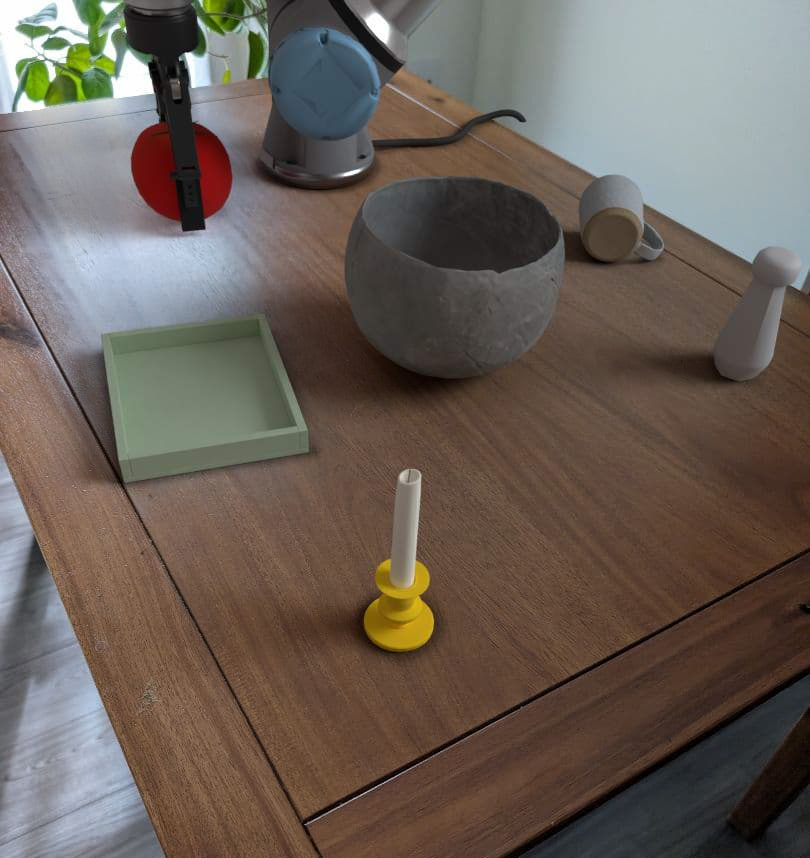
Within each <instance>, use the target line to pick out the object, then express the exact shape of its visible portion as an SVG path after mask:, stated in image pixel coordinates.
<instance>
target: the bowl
mask: <svg viewBox="0 0 810 858" xmlns="http://www.w3.org/2000/svg"><path fill="white" fill-rule="evenodd" d="M565 260H566V247H565V239H564V233H563V229H562V226H561V225H560V222H559V220H558V218H557V217H556V215H555V214H553V212H552V210H551V209H549V207H548V206H547V204H545V203H544V202H543V201H542V200H540V199H539V198H537V197H536V196H535V195H533V194H532V193H531V192H528V191H526V190H524V189H522V188H519V187H516V186H514V185H511V184H508V183H506V182H502V181H500V180H495V179H492V178H486V177H481V176H470V175H469V176H468V175H467V176H464V175H463V176H462V175H446V176H445V175H444V176H440V175H439V176H417V177H416V176H415V177H408V178H407V177H406V178H403V179H399V180H394V181H390V182H388V183H386V184H384V185H382V186H379V187H377V188H376V189H374V190H372V191H370V193H368V195H367V196H366V197H365V198H364V200H363V202H362V203H361V205H360V207H359V208H358V210H357V211H356V215H355V216H354V219H353V222H352V224H351V227H350V230H349V233H348V237H347V243H346V247H345V254H344V283H345V289H346V290H345V291H346V296H347V299H348V302H349V306H350V309H351V312H352V315H353V318H354V321H355V322H356V324H357V326H358V329H359V331H360V332H361V334H362V335H363V336H364V338H365V339H366V340H367V341H368V342H369V343H370V344H371V346H373V347H374V349H376V350H377V351H378V352H379V353H380V354H382V355H383V356H384V357H385V358H387V359H389V360H390V361H391V362H393V363H394V364H396V365H398V366H400V367H402V368H404V369H406V370H408V371H411V372H413V373H415V374H418V375H421V376H426V377H434V378H441V379H446V380H448V379H452V380H453V379H454V380H455V379H467V378H474V377H480V376H484V375H486V374H490V373H493V372H496V371H498V370H500V369H502V368H505V367H507V366H509V365H511V364H512V363H514V362H515V361H517V360H519V359H521V358H522V357H523V356H524V355H525V354H526V353H527V352H529V350H531V349H532V347H534V346H535V344H536V343H537V342H538V341H539V339H540V338H541V336H542V335H543V334H544V332H545V330H546V328H547V327H548V325H549V322H550V321H551V319H552V317H553V315H554V312H555V310H556V309H555V308H556V306H557V303H558V299H559V295H560V292H561V291H562V290H561V289H562V285H563V278H564V273H565Z"/></svg>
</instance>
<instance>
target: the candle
mask: <svg viewBox="0 0 810 858" xmlns="http://www.w3.org/2000/svg"><path fill="white" fill-rule="evenodd" d="M396 481H397V482H396V490H395V496H394V510H393V525H392V539H391V554H390V558H388V559H386V560H384V561H382V562H381V563H380V564H379V565H378V567H377V568H376V570H375V572H374V582H375V585H376V587H377V588H378V590H379V591H380V592H381V595H380V596H379V597H377V598H376V599H375V600H373V601H372V602H371V603H370V604H369V605H368V607H367V608H366V609H365V612H364V617H363V627H364V631H365V634H366V636H367V637H368V639H369V640H370V641H371V642H372V643H373V644H375V645H376V646H378V647H379V648H381V649H383V650H386V651H389V652H393V653H405V652H410V651H413V650H417V649H419V648H421V647H422V646H424V645H425V644H426V643H427V642H428V641H429V640H430V639H431V637H432V634H433V632H434V624H435V619H434V614H433V612H432V610H431V608H430V606H428V605H427V604H426V602H424V601H423V600H422V599H421V597H420V596H421V595H423V594H424V593H425V592H426V591H427V589H428V587H429V586H430V580H431V577H430V572H429V570H428V568H427V567H426V566H425V565H424V564H423V563H422V562H420V561H418V560H417V546H418V532H419V521H420V508H421V507H420V506H421V494H422V473H421V472H420V471H419V470H418V469H416V468H407V469H404V470H402V471H401V472H400V473H399V475H398V477H397V480H396Z"/></svg>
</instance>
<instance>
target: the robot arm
mask: <svg viewBox="0 0 810 858" xmlns="http://www.w3.org/2000/svg"><path fill="white" fill-rule="evenodd" d="M195 1H196V0H122V3H124V4H125V6H124V8H123V11H122V12H123V20H124V25H125V32H126V38H127V43H128V45H129V46H130V48H131V49H133V50H134V51H135V52H137V53H140V54H143V55H147V56H149V55H150V61H147V69H148V74H149V79H150V80H151V85H152V90H153V93H154V97H155V103H156V108H155V112H156V114H157V115H158V123H162V121H163V122H167V127H168V133H169V138H170V144H171V149H172V155H173V160H174V166H175V171H174V172H169V177H170V179H175V184H176V191H177V198H178V205H179V212H180V219H181V222H180V226H181V231H182V233H187V232H188V233H189V232H197V231H198V232H199V231H206V230H207V228H206V227H207V226H206V220H205V218H204V210H203V202H202V193H201V185H200V178H201V175H202V173H201V170H200V167H199V161H198V154H197V148H196V141H195V135H194V128H193V122H194V121H193V117H192V101H191V95H190V89H189V86H190V76H189V70H188V68H187V67H186V63H185V60H184V59H182V60H181V59H180V57H181V56H182V55H183V54H189V53H192V52H193V51H195V50H196V49H197V48H198V47H199V46H200V38H201V37H200V32H199V31H200V30H199V21H198V12H197V9H196V8H195V6H194V5H193V4H194V3H195ZM443 1H444V0H265V3H266V21H267V39H268V68H267V79H268V80H267V82H268V88H269V90H270V93H271V107H270V111H269V115H268V119H267V124H266V128H265V131H264V136H263V140H262V144H261V146H260V147H259V160H261V166H262V169H263V170H264V172H265V173H266V174H267V175H268V176H269V177H271V178H273V179H274V180H276V181H278V182H281V183H283V184H286V185H290V186H292V187H293V186H294V187H297V188H303V189H312V190H313V189H316V190H326V189H327V190H328V189H338V188H344V187H349V186H352V185H356V184H358V183H360V182H362V181H364V180H366V179H367V178H368V177H370V176H371V174H372V173H373V172H374V170H375V159H376V158H375V157H376V156H375V155H376V153H375V151H376V150H375V148H393V147H396V148H397V147H427V146H428V147H429V146H443V145H448V144H452V143H456V142H458V141H460V140H462V139H463V138H465V137H466V136H467V135H468V134H469V132H470V131H471V129H472V128H473V127H474V126H476V125H479V124H482V123H484V122H488V121H491V120H494V119H499V118H503V117H511V118H514V119H516V120H517V121H518V122H519V123H526V122H527V119H526V118H525V116H524V115H523V114H522V113H521V112H519V111H518V110H515V109H508V108H507V109H498V110H494V111H492V112H489V113H485V114H482V115H479V116H476V117H473V118H472V119H470V120H468V121H467V122H466V123H465V125H464V126H463V128H462V129H461V130H460V131H459V132H457V133H455V134H451V135H447V136H441V137H427V138H424V137H423V138H422V137H421V138H420V137H419V138H391V139H389V138H388V139H372V137H371V134H370V130H369V126H368V123H369V122H370V120H371V119H372V117H373V116H374V114H375V112H376V109H377V106H378V104H379V101H380V96H381V91H382V89H383V88H385V86H386V85H387V84H388V83H389V82H390V81H391V80H392V78H393V77H394V76H395V75H396V74H397V73H398V72H399V71H400V70H401V69H402V67H403V66H405V65H406V63H407V62H408V46H409V45H408V44H409V40H410V37H411V36H412V35H413V34H414V33H415V32H416V31H417V29H419V27H420V26H421V25H422V24H423V23H425V21H426V20H427V19H428V18H429V16H430V15H431V14H432V13H433V12H435V10H436V9H437V8H438V7H439V6H440V5H441V3H442V2H443ZM183 166H185V167H183Z"/></svg>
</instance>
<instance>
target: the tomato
mask: <svg viewBox="0 0 810 858" xmlns="http://www.w3.org/2000/svg"><path fill="white" fill-rule="evenodd" d="M192 122H193V128H194V135H195V141H196V148H197V154H198V161H199V167H200V170H201V173H202V175H201V178H200V185H201V193H202V202H203V210H204V218H205V219H208V218H210V217H212V216H214V215H215V214H217V213H218V212H219V211H220V210H221V209H222V208H223V207H224V206H225V204H226V202H227V200H228V199H229V197H230V194H231V191H232V189H233V188H232V187H233V179H234V178H233V168H232V163H231V159H230V155H229V153H228V151H227V149H226V147H225V145H224V144H223V141H221V139H220V138H219V136H218V135H217V134H215V133H214V132H213V131H211V130H210V129H209V128H207V127H206V126H205V125H203V124H200V123H198V122H199V120H195V121H192ZM183 167H185V166H183ZM174 171H175V166H174V160H173V155H172V149H171V144H170V138H169V133H168V127H167V122H163V121H162V123H159V122H158V123H155V124H151V125H150V126H148V127H146V128H145V129H143V130H142V131H141V132H140V133H139V134H138V136H137V138H136V139H135V142H134V144H133V147H132V151H131V155H130V173H131V175H132V179H133V183H134V186H135V187H136V188H135V189H137V192H138V194H139V196H140V197H141V199H142V200H143V201H144V202H145V203H146V205H147V206H148V207H149V208H150V209H152V211H154V212H155V213H156V214H158V215H161V216H162V217H164V218H166V219H169V220H173V221H176V222H180V223H181V219H180V212H179V205H178V198H177V191H176V184H175V179H170V177H169V172H174Z"/></svg>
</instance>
